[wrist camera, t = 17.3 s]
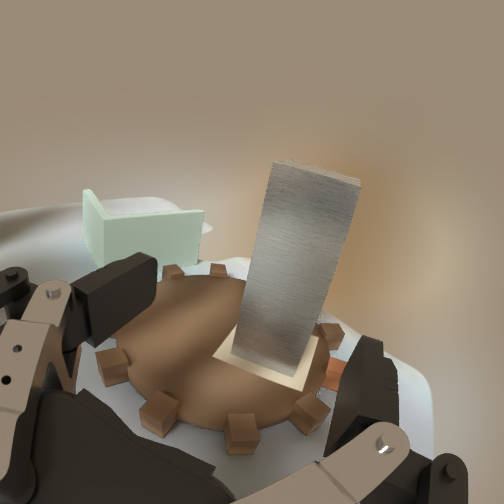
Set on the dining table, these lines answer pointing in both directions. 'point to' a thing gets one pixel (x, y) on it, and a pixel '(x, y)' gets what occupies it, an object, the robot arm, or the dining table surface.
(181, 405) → the sprocket plate
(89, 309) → the robot arm
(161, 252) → the l-shaped corner panel
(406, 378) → the dining table surface
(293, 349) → the brushed metal block
